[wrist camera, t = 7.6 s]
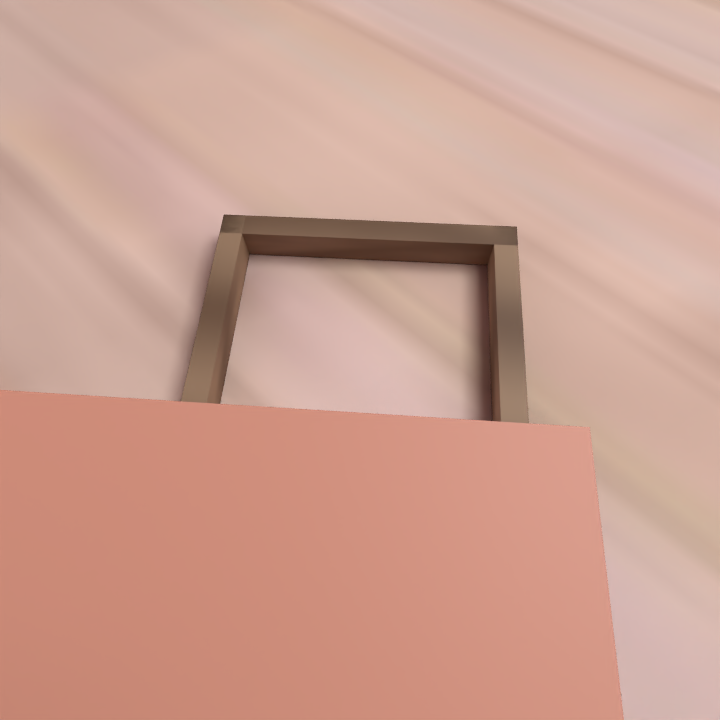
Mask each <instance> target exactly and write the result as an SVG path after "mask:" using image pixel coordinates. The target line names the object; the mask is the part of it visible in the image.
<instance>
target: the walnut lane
mask: <svg viewBox="0 0 720 720" xmlns="http://www.w3.org/2000/svg"><path fill="white" fill-rule="evenodd" d="M250 254H262V255H284V256H306V257H328V258H349V259H371V260H393V261H415V262H437V263H459V264H481V265H487V270H488V302H489V334H490V367H491V399H492V421H498V422H514V423H529V419H528V403H527V386H526V370H525V354H524V337H523V321H522V305H521V288H520V272H519V256H518V239H517V227H511V226H486V225H462V224H438V223H414V222H390V221H366V220H341V219H317V218H293V217H269V216H245V215H224V216H223V221H222V225H221V229H220V234H219V238H218V242H217V247H216V251H215V255H214V260H213V264H212V268H211V273H210V277H209V281H208V286H207V290H206V294H205V299H204V303H203V307H202V312H201V316H200V320H199V325H198V329H197V333H196V338H195V342H194V346H193V351H192V355H191V359H190V364H189V368H188V372H187V377H186V381H185V385H184V390H183V394H182V398H181V401H182V402H197V403H213V404H220V401H221V396H222V391H223V386H224V381H225V376H226V371H227V366H228V361H229V356H230V351H231V346H232V341H233V336H234V331H235V325H236V320H237V315H238V310H239V305H240V300H241V295H242V290H243V285H244V280H245V275H246V270H247V265H248V260H249V255H250Z"/></svg>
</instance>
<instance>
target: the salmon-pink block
mask: <svg viewBox="0 0 720 720" xmlns="http://www.w3.org/2000/svg"><path fill="white" fill-rule="evenodd" d="M0 720H624V718H623V709H622V700H621V692H620V683H619V675H618V666H617V658H616V649H615V640H614V632H613V623H612V615H611V606H610V598H609V589H608V580H607V572H606V563H605V555H604V546H603V538H602V529H601V520H600V512H599V503H598V495H597V486H596V478H595V469H594V460H593V452H592V443H591V435H590V427H577V426H561V425H545V424H530V423H514V422H498V421H482V420H466V419H450V418H435V417H419V416H403V415H387V414H371V413H356V412H340V411H324V410H308V409H292V408H276V407H261V406H245V405H229V404H213V403H197V402H182V401H166V400H150V399H134V398H118V397H102V396H87V395H71V394H55V393H39V392H23V391H8V390H0Z"/></svg>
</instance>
